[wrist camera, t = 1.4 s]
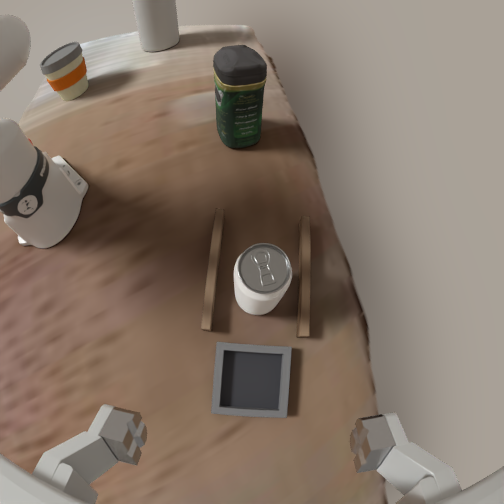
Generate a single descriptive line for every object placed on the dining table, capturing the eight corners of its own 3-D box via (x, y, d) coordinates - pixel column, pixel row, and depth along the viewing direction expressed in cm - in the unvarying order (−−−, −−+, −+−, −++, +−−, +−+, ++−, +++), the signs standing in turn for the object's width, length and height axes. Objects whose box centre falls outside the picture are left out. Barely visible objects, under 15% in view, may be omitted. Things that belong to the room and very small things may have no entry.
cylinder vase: (156, 55, 64) (145, -14, 41) (135, 49, 67) (122, -13, 44) (187, 40, 68) (182, -25, 45) (164, 34, 71) (156, -24, 47)
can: (272, 267, 42) (284, 233, 31) (285, 308, 40) (303, 288, 29) (229, 278, 41) (226, 247, 30) (241, 320, 39) (242, 305, 28)
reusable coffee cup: (79, 77, 62) (65, 42, 48) (101, 80, 60) (88, 40, 46) (50, 102, 57) (32, 67, 43) (70, 108, 56) (51, 67, 42)
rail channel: (304, 337, 38) (309, 336, 36) (203, 330, 38) (200, 328, 36) (306, 223, 45) (309, 216, 43) (217, 216, 45) (216, 208, 42)
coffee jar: (265, 145, 51) (275, 64, 34) (224, 153, 50) (221, 70, 32) (250, 114, 54) (254, 39, 37) (213, 121, 53) (208, 44, 36)
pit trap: (284, 415, 34) (286, 417, 32) (212, 410, 34) (211, 413, 32) (289, 347, 38) (291, 346, 36) (217, 342, 38) (216, 341, 36)
